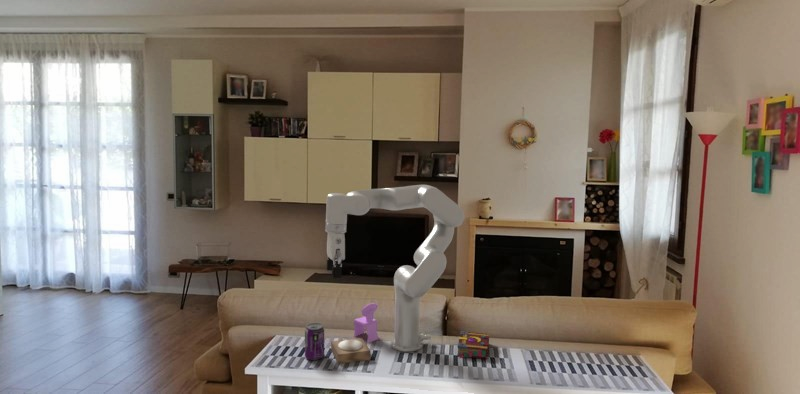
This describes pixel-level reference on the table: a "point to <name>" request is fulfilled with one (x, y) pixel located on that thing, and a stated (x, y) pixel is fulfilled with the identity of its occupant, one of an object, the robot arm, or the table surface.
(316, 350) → the beverage can
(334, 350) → the base
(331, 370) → the table surface
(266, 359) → the table surface
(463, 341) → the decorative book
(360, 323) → the toy chair
